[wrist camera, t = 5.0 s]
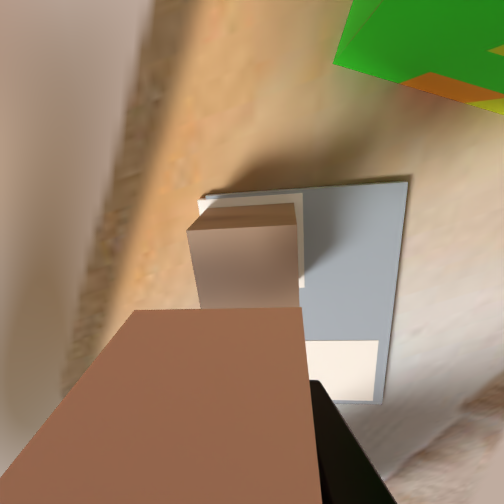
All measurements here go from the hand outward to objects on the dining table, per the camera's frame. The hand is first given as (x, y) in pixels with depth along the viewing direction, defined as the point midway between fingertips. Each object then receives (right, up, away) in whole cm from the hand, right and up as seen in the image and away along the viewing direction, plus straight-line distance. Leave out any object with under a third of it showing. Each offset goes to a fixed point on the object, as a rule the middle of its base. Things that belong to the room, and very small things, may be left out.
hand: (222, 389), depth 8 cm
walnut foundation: (+1, +4, +10) cm, 10 cm away
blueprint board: (+4, 0, +11) cm, 12 cm away
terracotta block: (0, 0, 0) cm, 0 cm away
